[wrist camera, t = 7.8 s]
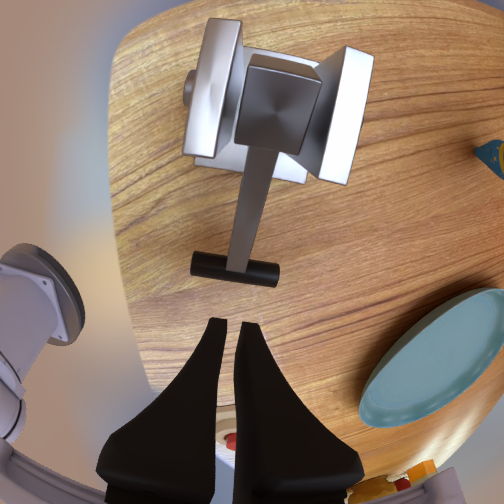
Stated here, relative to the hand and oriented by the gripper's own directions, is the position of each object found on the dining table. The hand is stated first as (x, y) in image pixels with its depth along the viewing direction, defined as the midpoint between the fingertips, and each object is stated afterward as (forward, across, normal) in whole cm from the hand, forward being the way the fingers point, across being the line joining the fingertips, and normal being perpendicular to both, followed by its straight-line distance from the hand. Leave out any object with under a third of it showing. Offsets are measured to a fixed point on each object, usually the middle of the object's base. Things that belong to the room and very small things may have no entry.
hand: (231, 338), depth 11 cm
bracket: (+9, 0, -9) cm, 13 cm away
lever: (+4, 0, -5) cm, 7 cm away
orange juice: (+10, -77, +75) cm, 108 cm away
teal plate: (+10, -27, +11) cm, 31 cm away
